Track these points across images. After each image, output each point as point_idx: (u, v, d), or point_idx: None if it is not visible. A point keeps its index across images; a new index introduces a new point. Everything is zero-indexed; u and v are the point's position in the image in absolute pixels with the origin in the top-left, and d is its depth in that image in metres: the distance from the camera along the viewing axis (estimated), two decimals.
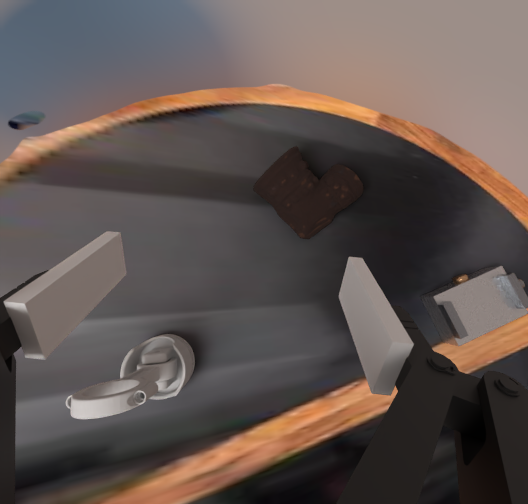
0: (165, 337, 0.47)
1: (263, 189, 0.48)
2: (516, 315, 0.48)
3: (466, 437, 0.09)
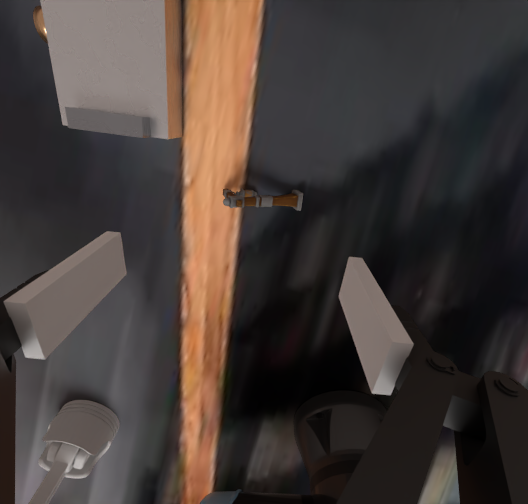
0: None
1: None
2: None
3: (467, 438, 0.09)
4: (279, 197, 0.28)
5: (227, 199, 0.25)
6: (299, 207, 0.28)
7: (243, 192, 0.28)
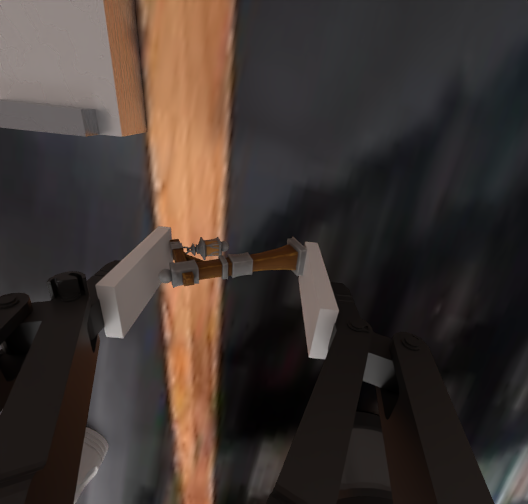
0: None
1: None
2: None
3: (386, 394, 0.10)
4: (265, 256, 0.16)
5: (165, 272, 0.14)
6: (300, 271, 0.16)
7: (203, 247, 0.16)
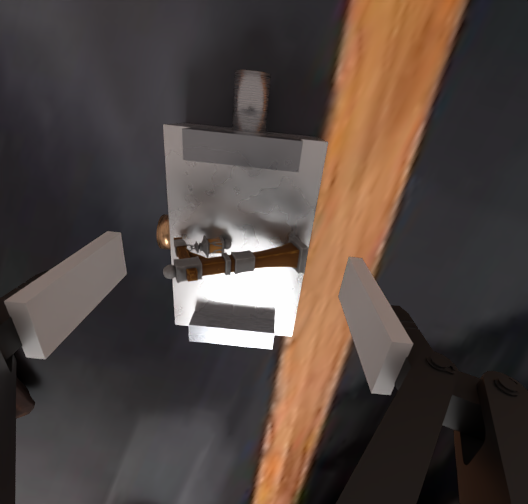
0: None
1: None
2: (311, 181, 0.16)
3: (466, 437, 0.09)
4: (267, 254, 0.16)
5: (169, 268, 0.14)
6: (302, 268, 0.17)
7: (206, 244, 0.17)
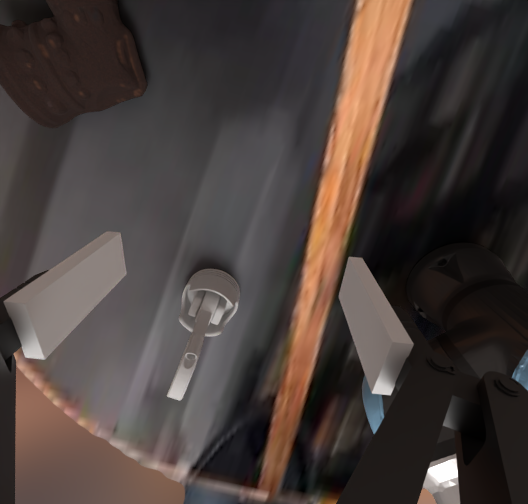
0: (186, 287, 0.48)
1: (50, 117, 0.34)
2: None
3: (466, 438, 0.09)
4: None
5: None
6: None
7: None
